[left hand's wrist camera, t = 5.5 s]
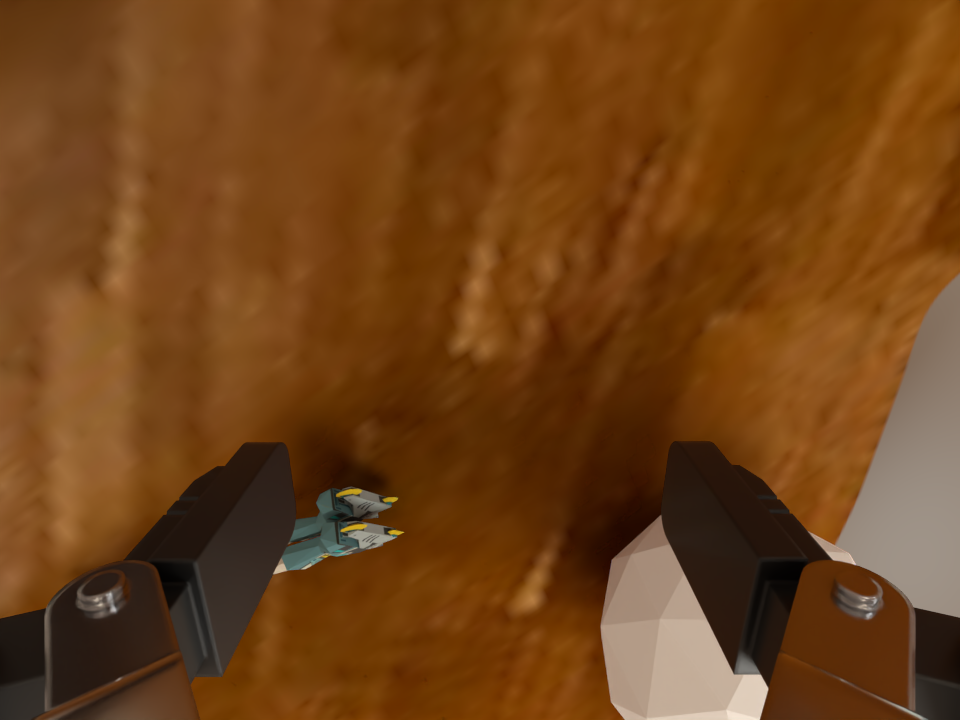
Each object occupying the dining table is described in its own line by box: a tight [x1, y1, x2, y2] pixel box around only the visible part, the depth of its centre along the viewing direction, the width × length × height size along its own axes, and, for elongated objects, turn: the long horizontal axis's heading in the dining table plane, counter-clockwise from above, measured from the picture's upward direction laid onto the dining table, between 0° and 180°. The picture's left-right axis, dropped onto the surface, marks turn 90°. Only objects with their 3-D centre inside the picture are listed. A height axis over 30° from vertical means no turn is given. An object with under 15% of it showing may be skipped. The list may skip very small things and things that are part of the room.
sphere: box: [601, 515, 856, 720], centre depth 39 cm, size 19×20×20 cm
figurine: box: [273, 486, 404, 574], centre depth 44 cm, size 7×8×30 cm
